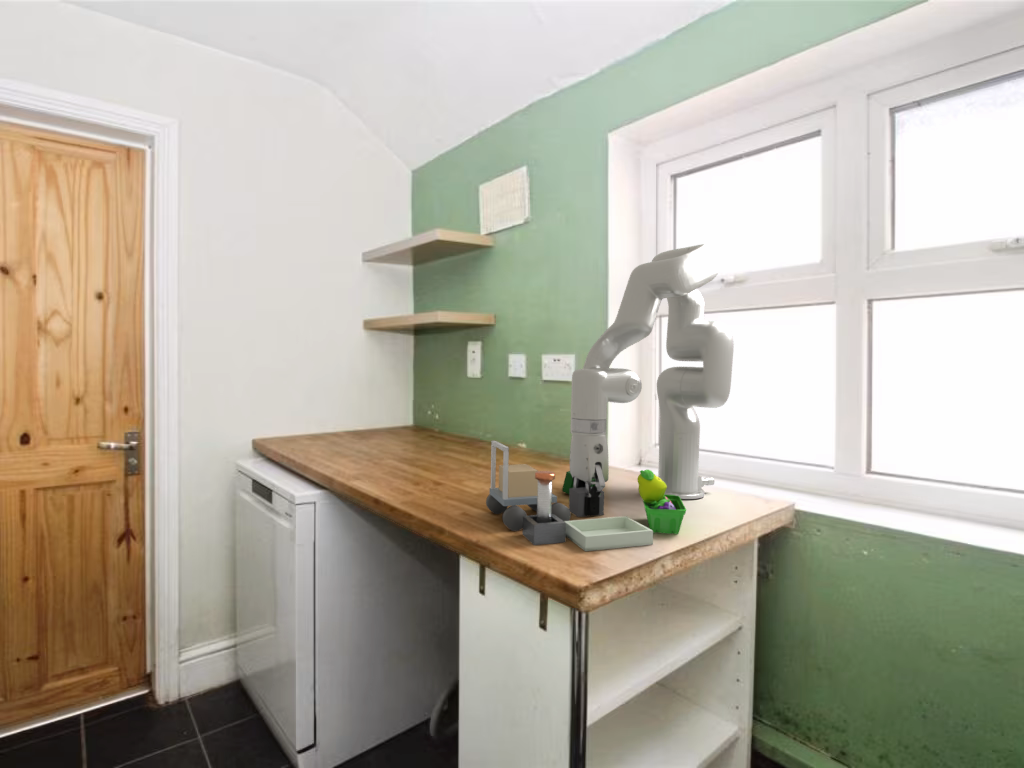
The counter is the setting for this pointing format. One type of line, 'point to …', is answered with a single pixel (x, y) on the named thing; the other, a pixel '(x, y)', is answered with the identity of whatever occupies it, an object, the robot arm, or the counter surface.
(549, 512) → the pin
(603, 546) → the tray
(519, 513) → the trolley
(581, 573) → the counter surface
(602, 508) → the grey rectangular block
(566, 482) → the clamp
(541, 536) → the bracket
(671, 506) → the fruit basket
